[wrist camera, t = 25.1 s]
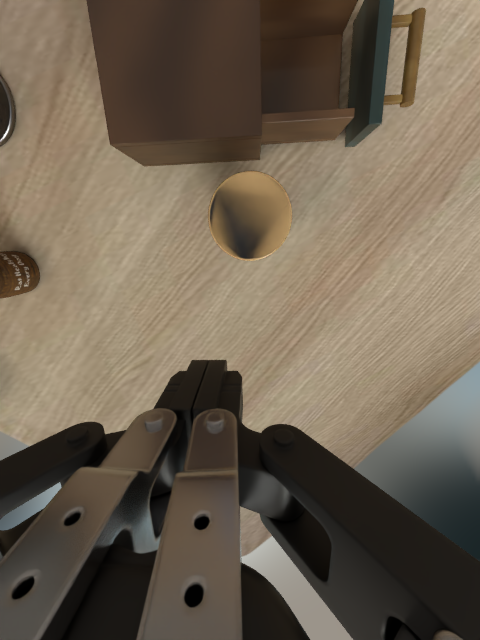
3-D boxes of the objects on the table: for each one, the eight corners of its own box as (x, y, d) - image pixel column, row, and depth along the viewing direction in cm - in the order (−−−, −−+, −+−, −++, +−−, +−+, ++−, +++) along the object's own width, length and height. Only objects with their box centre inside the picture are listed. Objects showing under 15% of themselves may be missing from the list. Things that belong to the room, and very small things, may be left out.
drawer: (402, 18, 28) (447, -48, 21) (388, 144, 31) (423, 120, 25) (236, 32, 29) (231, -27, 22) (240, 153, 32) (237, 132, 26)
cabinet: (257, 29, 29) (259, -51, 21) (259, 160, 33) (262, 135, 25) (127, 40, 30) (80, -33, 22) (144, 166, 34) (109, 144, 26)
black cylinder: (225, 223, 35) (190, 209, 15) (255, 199, 34) (259, 149, 14) (247, 253, 36) (241, 276, 16) (276, 231, 35) (308, 226, 15)
